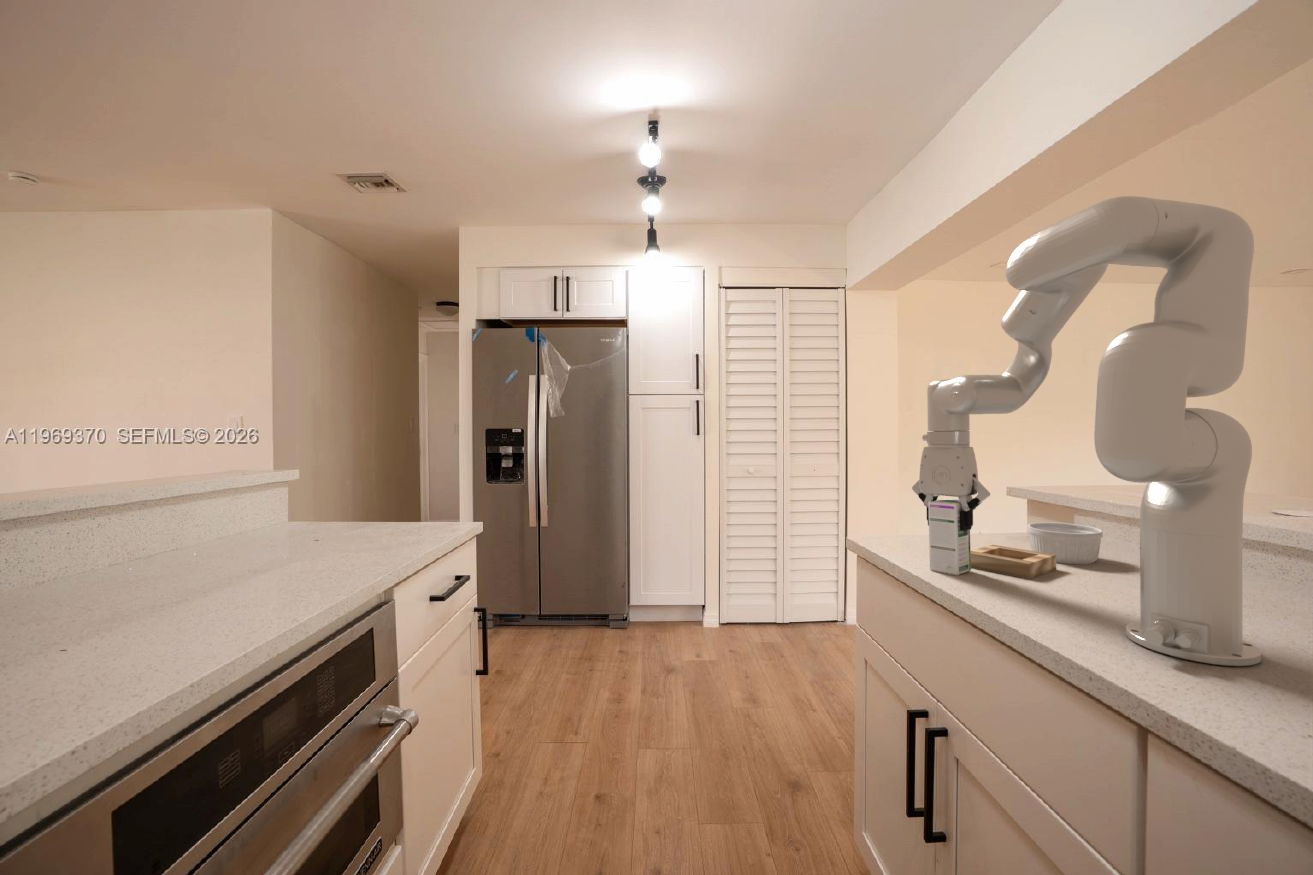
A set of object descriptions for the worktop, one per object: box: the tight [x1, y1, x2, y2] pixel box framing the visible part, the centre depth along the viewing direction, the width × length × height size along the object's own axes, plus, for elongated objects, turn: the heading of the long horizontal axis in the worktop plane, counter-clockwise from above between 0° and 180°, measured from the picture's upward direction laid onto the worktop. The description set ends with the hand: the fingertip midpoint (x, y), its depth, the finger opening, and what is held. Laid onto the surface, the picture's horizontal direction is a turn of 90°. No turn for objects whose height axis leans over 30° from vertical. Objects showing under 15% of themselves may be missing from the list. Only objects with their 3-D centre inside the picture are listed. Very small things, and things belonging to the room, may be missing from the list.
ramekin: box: [1027, 521, 1104, 565], centre depth 117 cm, size 13×13×7 cm
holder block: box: [970, 544, 1057, 580], centre depth 110 cm, size 12×12×3 cm
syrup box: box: [928, 498, 972, 576], centre depth 108 cm, size 6×6×14 cm
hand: (949, 526), depth 108 cm, fingers closed on syrup box, 5 cm apart
